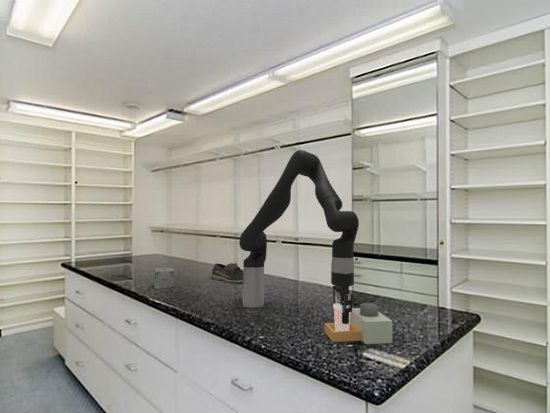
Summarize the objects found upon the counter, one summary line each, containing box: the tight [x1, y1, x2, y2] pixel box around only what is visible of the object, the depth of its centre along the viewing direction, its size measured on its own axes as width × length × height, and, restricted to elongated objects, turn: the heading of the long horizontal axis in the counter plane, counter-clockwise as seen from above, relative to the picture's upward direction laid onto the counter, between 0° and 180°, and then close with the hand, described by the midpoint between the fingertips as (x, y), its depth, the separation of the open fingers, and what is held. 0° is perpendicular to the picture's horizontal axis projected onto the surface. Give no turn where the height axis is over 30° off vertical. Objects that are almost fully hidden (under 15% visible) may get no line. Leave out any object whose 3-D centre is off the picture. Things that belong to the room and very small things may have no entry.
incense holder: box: [154, 266, 175, 290], centre depth 193 cm, size 10×8×10 cm
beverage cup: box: [332, 303, 350, 331], centre depth 120 cm, size 6×6×14 cm
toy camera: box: [324, 302, 393, 345], centre depth 121 cm, size 19×16×10 cm
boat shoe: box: [210, 262, 243, 284], centre depth 213 cm, size 11×29×11 cm, turn 60°
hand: (342, 320), depth 120 cm, fingers closed on beverage cup, 6 cm apart
